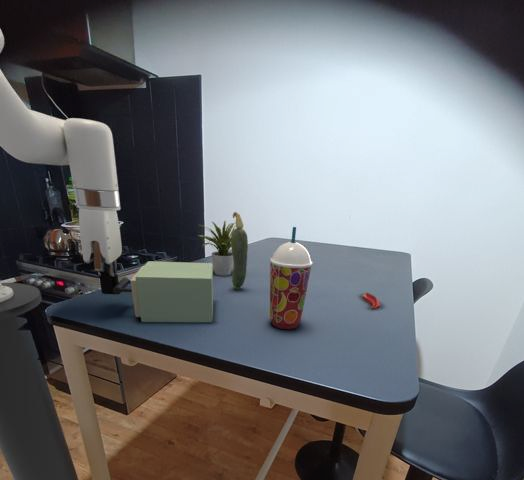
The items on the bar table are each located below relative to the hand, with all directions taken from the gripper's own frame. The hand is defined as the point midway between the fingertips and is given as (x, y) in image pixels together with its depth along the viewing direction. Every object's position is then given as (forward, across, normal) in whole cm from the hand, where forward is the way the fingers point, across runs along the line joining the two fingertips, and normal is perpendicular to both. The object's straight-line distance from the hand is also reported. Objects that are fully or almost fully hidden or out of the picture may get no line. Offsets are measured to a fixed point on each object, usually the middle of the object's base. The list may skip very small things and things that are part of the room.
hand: (110, 292), depth 68 cm
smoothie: (+3, +7, +38) cm, 38 cm away
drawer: (+3, 0, +11) cm, 11 cm away
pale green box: (+4, 0, +15) cm, 15 cm away
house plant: (+4, -34, +24) cm, 42 cm away
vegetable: (+3, -16, +28) cm, 33 cm away
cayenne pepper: (+2, -8, +64) cm, 65 cm away
